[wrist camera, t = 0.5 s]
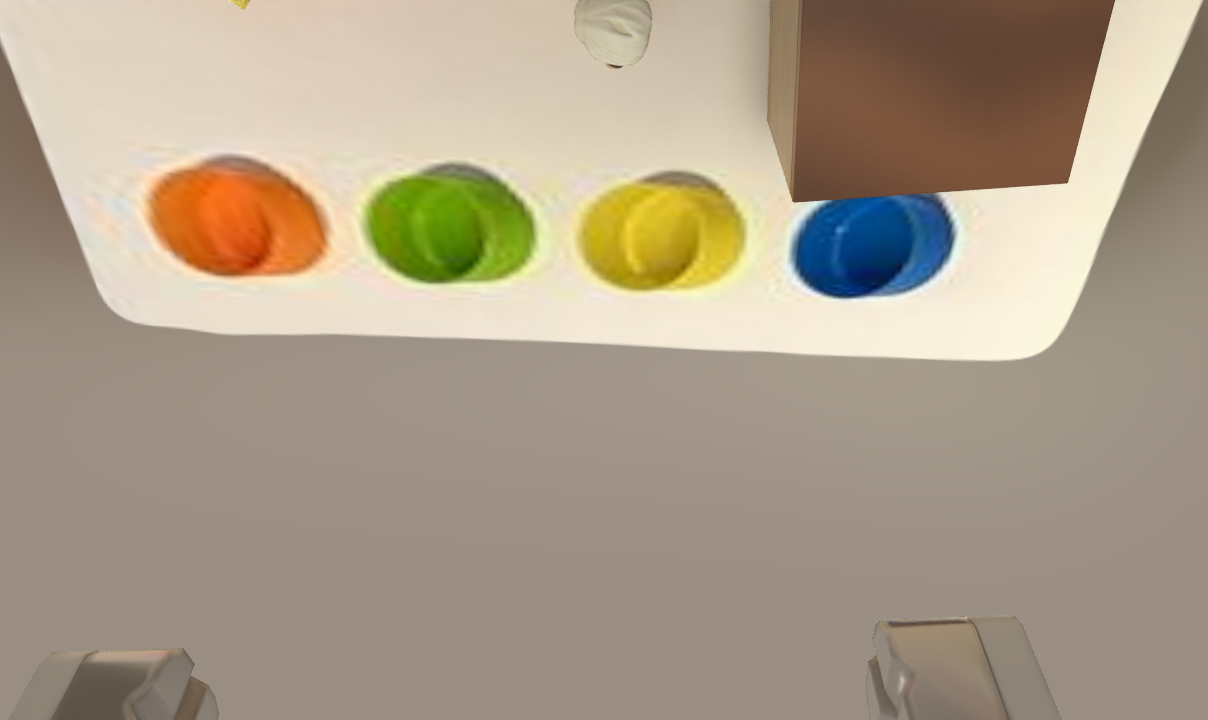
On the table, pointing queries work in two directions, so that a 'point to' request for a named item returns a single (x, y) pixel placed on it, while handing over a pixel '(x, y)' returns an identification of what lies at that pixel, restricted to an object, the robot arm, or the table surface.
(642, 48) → the grandmother figurine
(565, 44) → the table surface
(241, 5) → the toy
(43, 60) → the table surface
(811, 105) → the chest lid
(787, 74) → the chest
